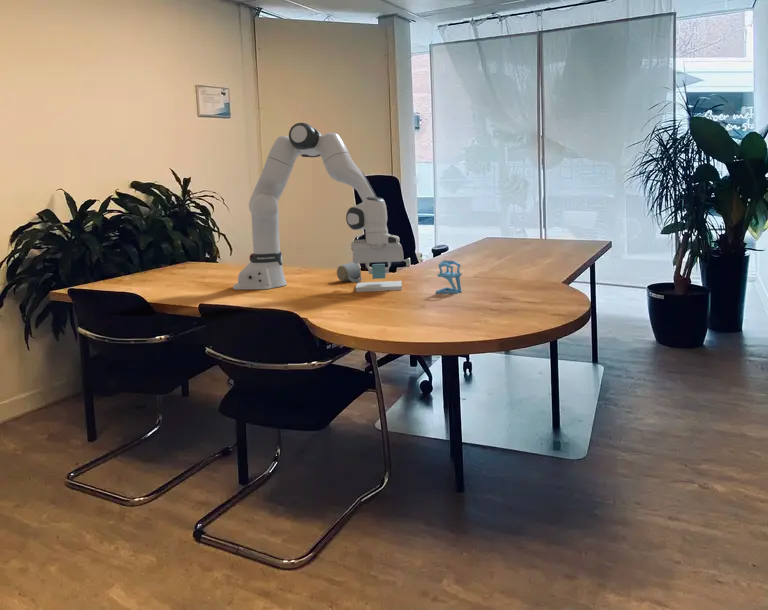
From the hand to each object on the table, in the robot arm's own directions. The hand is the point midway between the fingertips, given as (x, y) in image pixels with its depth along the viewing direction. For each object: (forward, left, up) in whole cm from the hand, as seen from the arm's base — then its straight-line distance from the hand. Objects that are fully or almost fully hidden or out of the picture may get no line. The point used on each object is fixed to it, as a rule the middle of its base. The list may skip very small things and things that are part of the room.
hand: (378, 273), depth 257 cm
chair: (+27, -15, -6) cm, 31 cm away
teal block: (0, 0, -2) cm, 2 cm away
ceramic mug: (-13, +20, -6) cm, 25 cm away
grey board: (0, 0, -6) cm, 6 cm away
